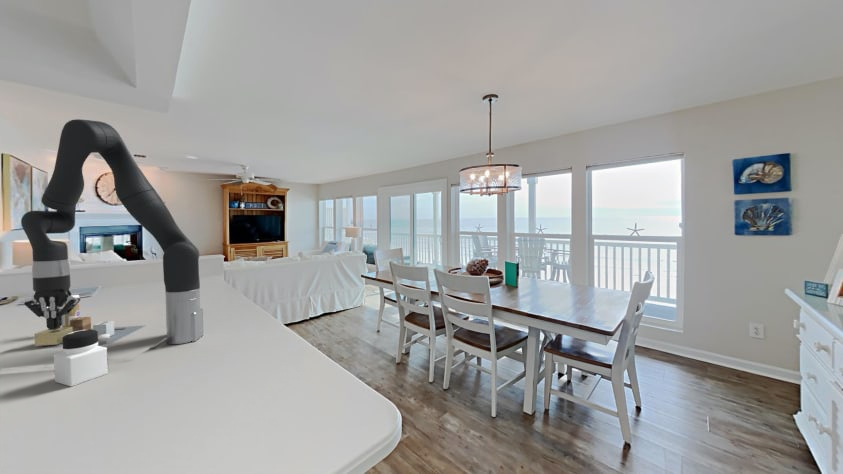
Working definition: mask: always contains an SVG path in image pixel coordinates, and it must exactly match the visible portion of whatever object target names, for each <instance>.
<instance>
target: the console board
mask: <svg viewBox="0 0 843 474" xmlns="http://www.w3.org/2000/svg"><path fill="white" fill-rule="evenodd" d="M146 326H147V325H145V324H144V325H133V326H131V325H130V326H118V327H116V326H114V335H112V336H110V334H102V335H99V336H98V345H97V346H100V345H110V344H111V345H112V344H113V343H115V342H116V341H119V340H121V339H122V338H124V337H127V336H128V335H131V334H132V333H134V332H137V331H138V330H140V329H143V328H144V327H146ZM91 330H93V328H91ZM56 348H59V349H60V348H63V342H62V343H60V344H56V345H42V346H34V347H33V348H30V350H42V349H56Z"/></svg>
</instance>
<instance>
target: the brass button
mask: <svg viewBox="0 0 843 474" xmlns="http://www.w3.org/2000/svg"><path fill="white" fill-rule="evenodd" d="M72 332H73V328H72V327H62V326H60V328H58V329H56V330H49V329H48V328H47V329H44V330H41V331H39V332H36V333H34V347H38V346H42V345H56V344H60V343H62V342H63V341H62V338H63V337H64V336H65V335H67V334H69V333H72Z"/></svg>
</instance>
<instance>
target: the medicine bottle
mask: <svg viewBox="0 0 843 474" xmlns="http://www.w3.org/2000/svg"><path fill="white" fill-rule="evenodd" d="M91 329H92V328H91ZM91 329H88V330H80V331H75V332H72V333H69V334H67V335H65V336H64V337H63V338H62V341H63V347H62V352H61V351H60V352H58V353H55V354H54V355H53V365H54V381H55V383H58V384H62V385H64V386H68V387H74V386H76V385H81V384H83V383H85V382H89V381H91V380H94V379H97V378H99V377H102V376H105V375H108V374H109V361H108V359H109V358H108V356H109V355H108V347H106V346H100V345H98V331H96V330H91Z"/></svg>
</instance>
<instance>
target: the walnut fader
mask: <svg viewBox="0 0 843 474" xmlns="http://www.w3.org/2000/svg"><path fill="white" fill-rule="evenodd" d="M70 327H72V328H73V332H75V331H80V330H88V329H92V318H91V316H80V317H78V318H75V319H72V320H70Z"/></svg>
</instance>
